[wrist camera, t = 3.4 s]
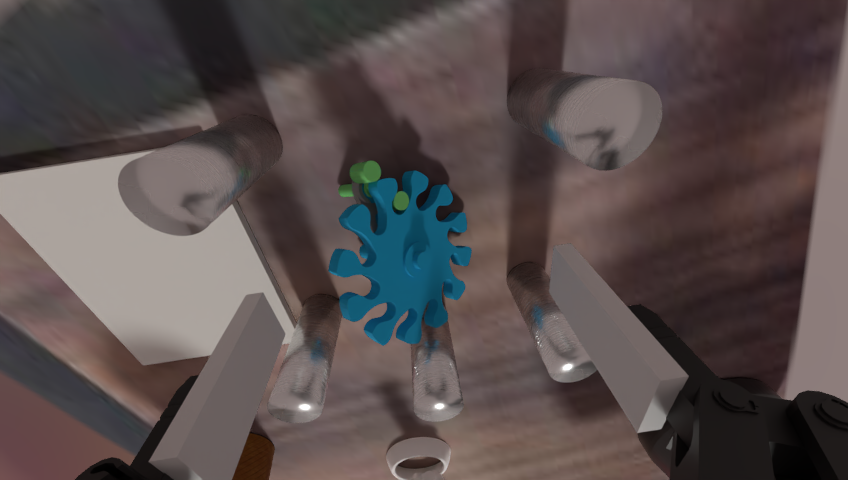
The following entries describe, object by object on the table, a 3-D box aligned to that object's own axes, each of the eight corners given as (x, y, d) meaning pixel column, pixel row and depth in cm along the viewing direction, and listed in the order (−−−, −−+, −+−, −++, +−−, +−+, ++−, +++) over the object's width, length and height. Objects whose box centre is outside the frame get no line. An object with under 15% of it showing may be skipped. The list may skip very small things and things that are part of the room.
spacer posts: (562, 64, 17) (672, 73, 10) (542, 308, 26) (592, 398, 20) (216, 119, 17) (97, 164, 10) (318, 342, 27) (291, 443, 20)
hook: (389, 468, 28) (448, 533, 27) (423, 403, 40) (466, 446, 38) (340, 520, 29) (394, 586, 28) (387, 442, 41) (427, 486, 40)
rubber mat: (207, 140, 18) (201, 143, 17) (302, 335, 26) (300, 341, 26) (-19, 176, 18) (-32, 179, 17) (148, 359, 26) (143, 365, 26)
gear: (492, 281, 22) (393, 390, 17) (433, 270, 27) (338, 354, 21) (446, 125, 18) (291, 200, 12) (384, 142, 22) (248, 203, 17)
